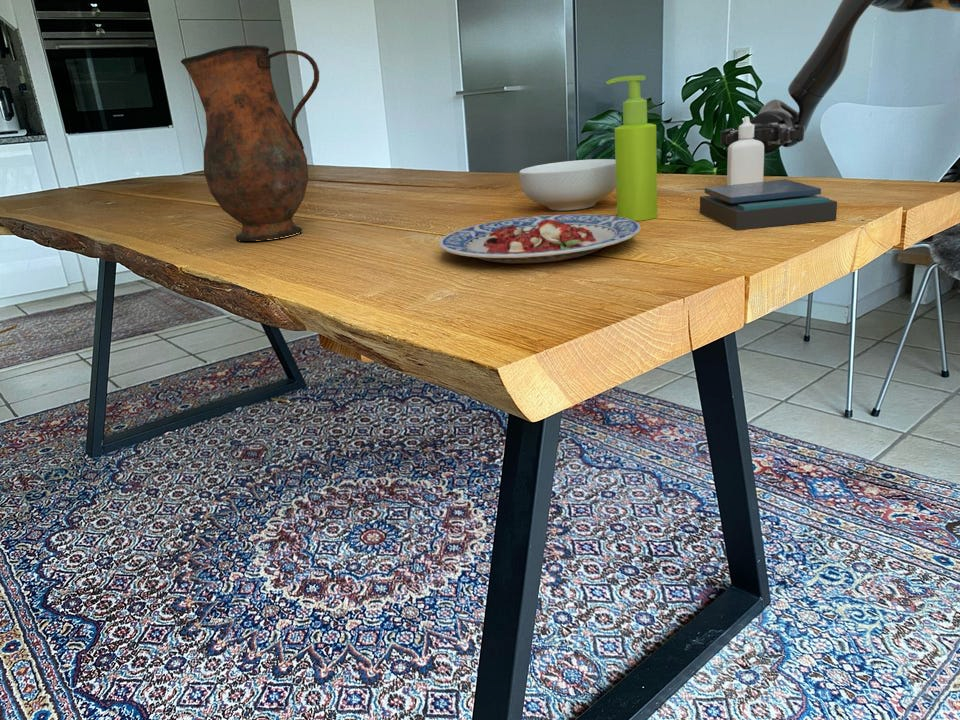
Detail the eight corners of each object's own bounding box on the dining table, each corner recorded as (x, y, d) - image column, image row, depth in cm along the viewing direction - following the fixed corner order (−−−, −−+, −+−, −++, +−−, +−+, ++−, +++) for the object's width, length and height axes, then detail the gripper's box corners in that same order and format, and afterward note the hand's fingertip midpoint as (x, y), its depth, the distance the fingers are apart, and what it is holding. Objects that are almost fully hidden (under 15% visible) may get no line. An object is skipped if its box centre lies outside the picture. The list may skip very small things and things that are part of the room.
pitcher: (231, 233, 134) (193, 56, 124) (348, 221, 135) (320, 44, 125) (206, 251, 118) (161, 50, 108) (339, 237, 119) (307, 36, 109)
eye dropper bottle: (729, 189, 127) (731, 116, 123) (764, 188, 124) (766, 114, 120) (725, 193, 123) (726, 118, 119) (760, 192, 121) (763, 116, 117)
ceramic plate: (424, 246, 105) (422, 225, 104) (593, 222, 110) (592, 202, 109) (466, 285, 81) (463, 258, 80) (678, 252, 86) (678, 227, 85)
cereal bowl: (610, 195, 134) (608, 155, 131) (632, 208, 118) (631, 163, 116) (517, 205, 133) (514, 165, 131) (527, 219, 118) (524, 174, 115)
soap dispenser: (616, 214, 115) (612, 77, 108) (661, 213, 111) (660, 72, 105) (605, 221, 110) (600, 78, 103) (651, 220, 107) (649, 73, 100)
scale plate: (785, 184, 108) (786, 179, 107) (821, 194, 97) (821, 188, 97) (704, 193, 108) (704, 187, 107) (730, 203, 97) (731, 197, 97)
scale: (786, 204, 109) (787, 184, 108) (836, 220, 95) (837, 197, 94) (699, 212, 109) (699, 193, 108) (736, 230, 95) (736, 207, 94)
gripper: (808, 148, 141) (798, 158, 128) (731, 152, 147) (714, 162, 134) (811, 107, 138) (801, 113, 125) (732, 112, 145) (714, 119, 132)
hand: (756, 138), depth 130 cm, fingers open, 8 cm apart
